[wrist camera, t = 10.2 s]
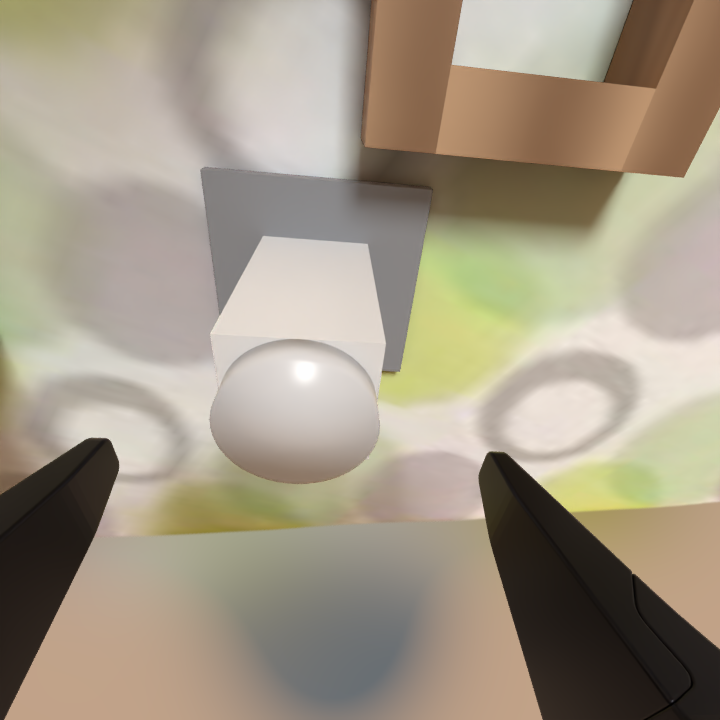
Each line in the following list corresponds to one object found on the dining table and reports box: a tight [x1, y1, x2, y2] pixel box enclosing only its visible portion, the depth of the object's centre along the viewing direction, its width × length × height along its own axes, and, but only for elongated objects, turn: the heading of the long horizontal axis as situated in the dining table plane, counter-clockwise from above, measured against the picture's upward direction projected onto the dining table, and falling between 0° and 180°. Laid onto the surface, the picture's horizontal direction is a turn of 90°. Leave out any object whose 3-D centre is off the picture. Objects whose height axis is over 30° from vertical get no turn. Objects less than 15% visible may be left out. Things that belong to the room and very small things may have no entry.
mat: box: [201, 167, 433, 372], centre depth 18 cm, size 9×9×1 cm
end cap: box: [210, 236, 386, 484], centre depth 14 cm, size 4×4×9 cm
